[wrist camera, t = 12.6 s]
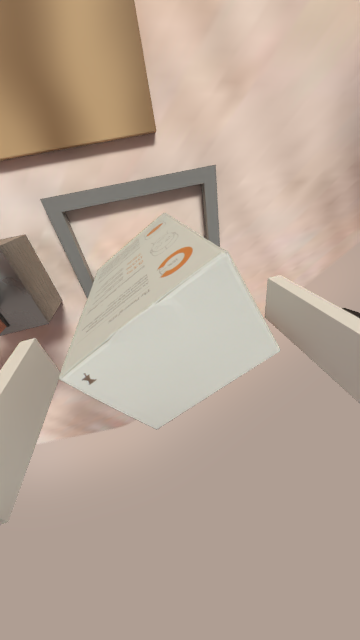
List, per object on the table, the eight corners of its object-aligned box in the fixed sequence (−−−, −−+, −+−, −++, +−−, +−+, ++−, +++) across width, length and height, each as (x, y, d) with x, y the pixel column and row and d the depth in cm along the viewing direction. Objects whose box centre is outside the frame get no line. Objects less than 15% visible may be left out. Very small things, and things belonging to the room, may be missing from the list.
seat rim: (212, 165, 16) (215, 164, 16) (220, 313, 24) (223, 316, 23) (43, 198, 15) (40, 199, 14) (110, 341, 23) (110, 346, 22)
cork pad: (92, -229, 8) (90, -256, 8) (155, 132, 14) (156, 130, 14) (-213, -219, 7) (-237, -248, 7) (-7, 161, 14) (-12, 160, 13)
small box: (142, 314, 22) (155, 434, 11) (95, 270, 19) (50, 381, 8) (204, 267, 21) (285, 352, 10) (165, 209, 17) (226, 244, 6)
